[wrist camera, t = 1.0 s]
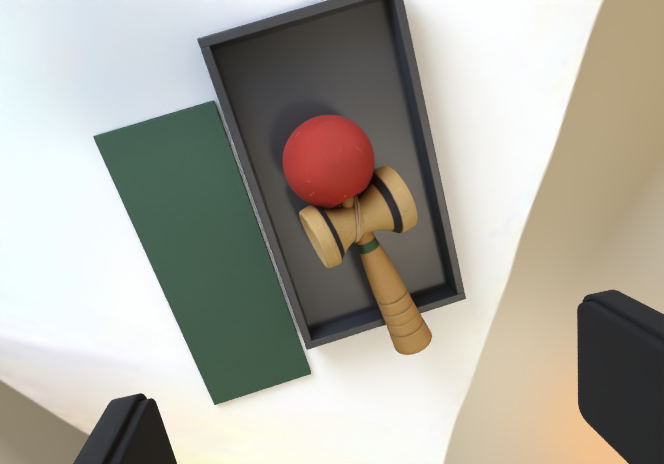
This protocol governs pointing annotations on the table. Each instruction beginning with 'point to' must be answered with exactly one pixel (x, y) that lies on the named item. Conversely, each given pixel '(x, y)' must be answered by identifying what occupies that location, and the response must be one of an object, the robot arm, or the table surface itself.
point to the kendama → (355, 213)
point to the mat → (206, 249)
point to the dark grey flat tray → (363, 109)
